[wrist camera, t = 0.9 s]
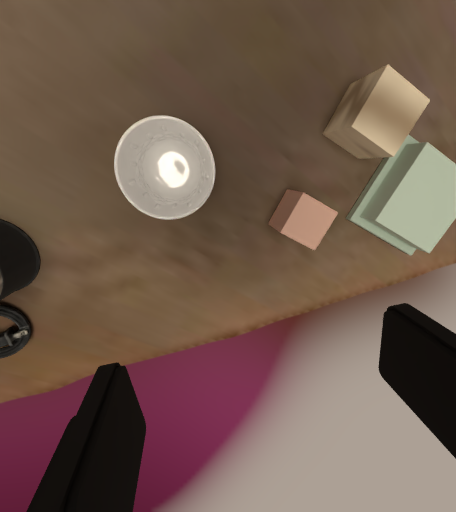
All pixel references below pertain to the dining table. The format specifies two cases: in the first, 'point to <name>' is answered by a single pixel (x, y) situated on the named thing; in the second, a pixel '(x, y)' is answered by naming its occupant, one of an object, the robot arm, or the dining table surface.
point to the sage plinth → (409, 198)
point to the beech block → (376, 114)
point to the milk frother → (15, 282)
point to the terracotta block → (302, 218)
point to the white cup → (164, 167)
